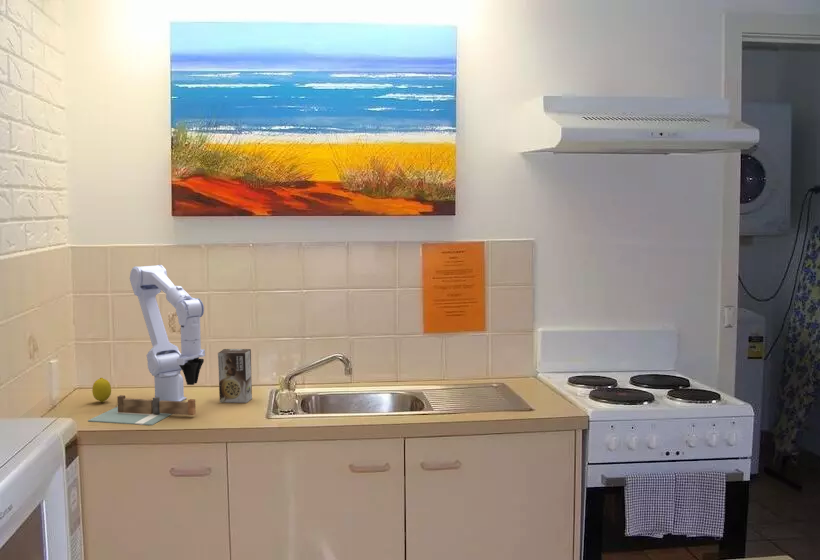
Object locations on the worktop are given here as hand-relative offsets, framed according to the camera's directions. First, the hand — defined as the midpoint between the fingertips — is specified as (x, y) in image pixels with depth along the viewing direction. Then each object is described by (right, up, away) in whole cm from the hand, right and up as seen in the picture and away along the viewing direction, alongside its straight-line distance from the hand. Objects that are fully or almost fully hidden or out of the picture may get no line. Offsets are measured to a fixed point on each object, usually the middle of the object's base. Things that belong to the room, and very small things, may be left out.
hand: (192, 383), depth 242 cm
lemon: (-31, -8, +11) cm, 34 cm away
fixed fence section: (-15, -9, -3) cm, 18 cm away
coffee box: (+10, -7, +14) cm, 19 cm away
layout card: (-15, -9, -2) cm, 18 cm away
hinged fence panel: (-3, -8, -5) cm, 10 cm away
